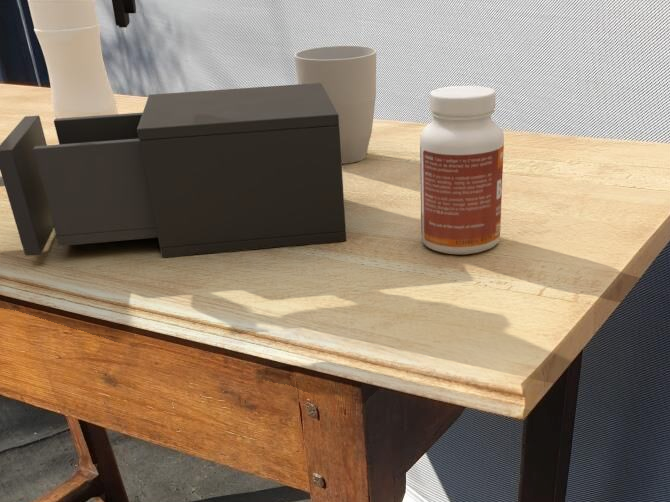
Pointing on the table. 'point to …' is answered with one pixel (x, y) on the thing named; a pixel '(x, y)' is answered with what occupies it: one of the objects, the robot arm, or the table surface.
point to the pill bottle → (461, 171)
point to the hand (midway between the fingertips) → (57, 26)
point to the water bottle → (73, 57)
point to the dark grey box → (243, 168)
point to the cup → (345, 91)
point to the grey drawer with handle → (77, 181)
